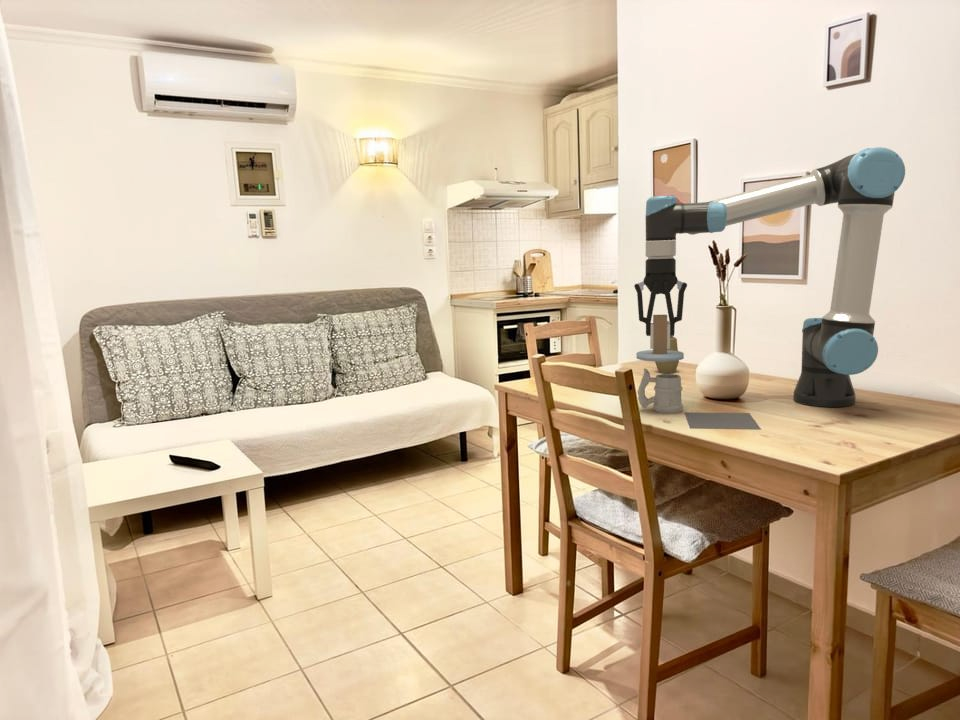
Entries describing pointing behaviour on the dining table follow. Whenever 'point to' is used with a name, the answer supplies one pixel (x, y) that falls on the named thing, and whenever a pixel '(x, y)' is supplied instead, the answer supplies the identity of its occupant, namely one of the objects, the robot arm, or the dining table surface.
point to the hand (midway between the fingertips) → (659, 348)
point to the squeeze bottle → (669, 365)
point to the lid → (660, 344)
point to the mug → (662, 393)
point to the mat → (721, 421)
